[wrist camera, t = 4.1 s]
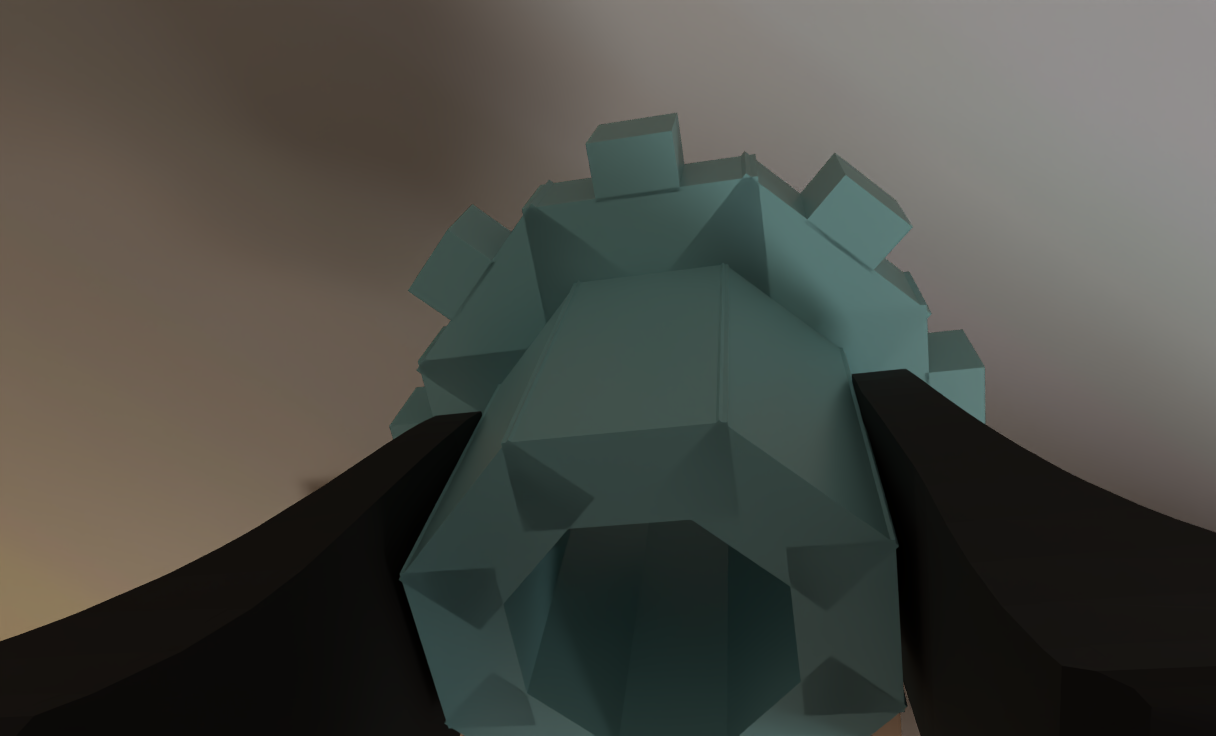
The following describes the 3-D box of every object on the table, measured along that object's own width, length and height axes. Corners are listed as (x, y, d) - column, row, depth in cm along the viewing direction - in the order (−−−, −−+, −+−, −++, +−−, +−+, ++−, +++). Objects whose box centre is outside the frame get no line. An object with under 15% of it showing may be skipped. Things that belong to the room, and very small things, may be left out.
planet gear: (957, 68, 11) (1128, 168, 6) (966, 593, 14) (1086, 922, 9) (353, 163, 12) (121, 300, 8) (481, 621, 15) (372, 919, 11)
